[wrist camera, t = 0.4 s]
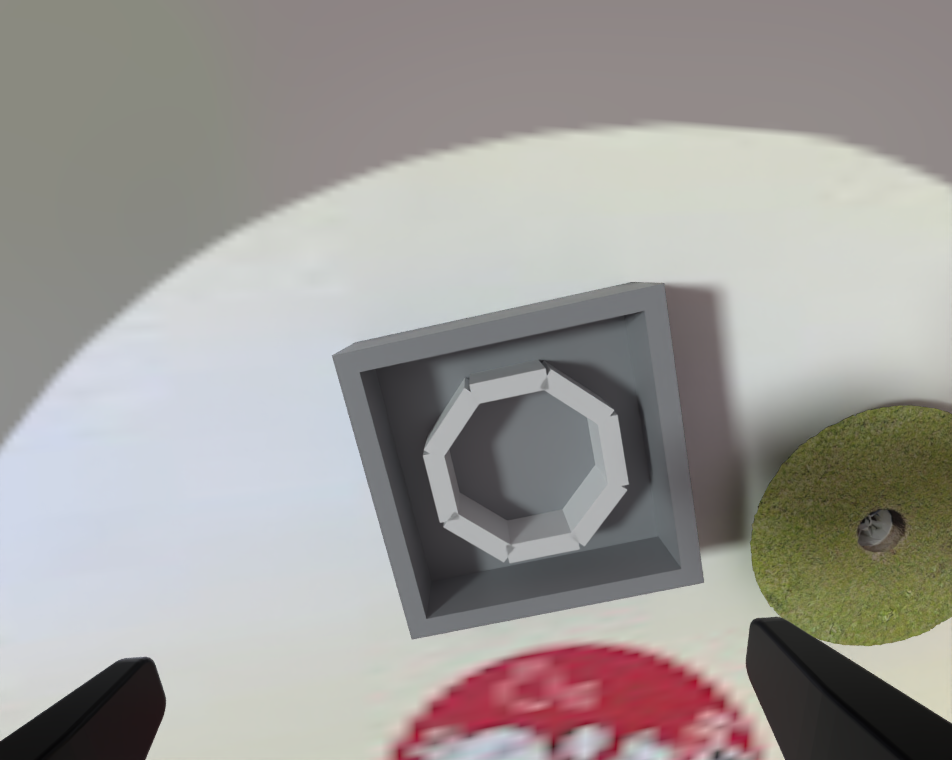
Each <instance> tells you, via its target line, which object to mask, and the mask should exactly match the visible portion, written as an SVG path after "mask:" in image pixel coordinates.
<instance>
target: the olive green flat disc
mask: <svg viewBox="0 0 952 760" xmlns="http://www.w3.org/2000/svg"><path fill="white" fill-rule="evenodd" d="M752 528H753V530H752V537H751V538H752V540H751V542H750V545H751V553H752V566H753V571H754V572H755V578H756V581H757V583H758V585H759V588H760V589H761V592H762V593H763V595H764V597H765V598H766V600H767V601H768V603H769V605H770V607H773V608H774V610H775V611H776V612H777V614H778V615H780V616H781V617H782V618H784V619H786V620H787V621H789V622H791V623H792V624H794V625H796V626H797V627H799V628H800V629H802V630H803V631H805V632H807V633H808V634H810V635H811V636H813V637H815V638H818V639H820V640H823V641H827V642H831V643H834V644H836V643H837V644H842V645H857V646H859V645H863V646H872V645H882V644H885V643H893V642H897V641H902V640H905V639H908V638H910V637H912V636H918V635H921V634H922V633H924V632H927V631H930V629H933V628H934V627H935V626H936V625H938V624H940V623H941V622H944V621H946V620H947V619H949V618H950V617H952V414H951V413H949V412H946V411H942V410H939V409H935V408H927V407H921V406H910V405H908V406H901V405H900V406H892V407H881V408H879V409H873V410H867V411H865V412H862V413H859V414H857V415H856V416H854V415H852V416H851V417H849V418H846V419H844V420H842V421H841V422H839V423H837V424H834V425H832V426H829V427H827V428H825V429H824V430H822V431H821V432H820V433H819V434H818V435H816V436H815V437H812V438H810V439H809V440H807V442H806V443H804V444H802V445H800V446H799V448H798V450H796V451H795V452H794V453H793V454H792V455H791V456H790V457H789V458H788V460H786V461H785V462H784V463H783V464H782V465H781V467H780V469H779V471H778V472H777V474H776V476H775V477H774V478H773V479H772V481H771V482H770V484H769V485H768V487H767V489H766V491H765V493H764V495H763V497H762V499H761V501H760V503H759V506H758V511H757V514H755V516H754V523H753V524H752Z"/></svg>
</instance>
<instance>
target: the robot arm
mask: <svg viewBox="0 0 952 760" xmlns="http://www.w3.org/2000/svg"><path fill="white" fill-rule="evenodd" d="M746 669H747V673H748V676H749V679H750V682H751V684H752V686H753V688H754V691H755V693H756V695H757V697H758V700H759V702H760V704H761V706H762V709H763V711H764V713H765V715H766V718H767V720H768V722H769V724H770V727H771V729H772V731H773V733H774V736H775V738H776V740H777V742H778V745H779V747H780V749H781V751H782V754H783V756H784V758H785V760H952V723H950V722H949V721H947V720H945V719H944V718H942V717H941V716H939V715H937V714H936V713H934V712H933V711H931V710H929V709H928V708H926V707H925V706H923V705H922V704H920V703H918V702H917V701H915V700H914V699H912V698H910V697H909V696H907V695H906V694H904V693H902V692H901V691H899V690H898V689H896V688H894V687H893V686H891V685H890V684H888V683H886V682H885V681H883V680H882V679H880V678H878V677H877V676H875V675H874V674H872V673H870V672H869V671H867V670H866V669H864V668H863V667H861V666H859V665H858V664H856V663H855V662H853V661H851V660H850V659H848V658H847V657H845V656H843V655H842V654H840V653H839V652H837V651H835V650H834V649H832V648H831V647H829V646H827V645H826V644H824V643H823V642H821V641H819V640H818V639H816V638H815V637H813V636H811V635H810V634H808V633H807V632H805V631H803V630H802V629H800V628H799V627H797V626H796V625H794V624H792V623H791V622H789V621H787V620H786V619H784V618H780V617H768V618H756V619H754V620H753V621H752V622H751V624H750V629H749V638H748V646H747V654H746ZM165 707H166V697H165V693H164V690H163V687H162V684H161V681H160V678H159V675H158V671H157V668H156V665H155V663H154V661H153V660H152V659H151V658H149V657H136V658H125V659H121V660H118V661H117V662H115V663H114V664H112V665H111V666H109V667H108V668H106V669H105V670H103V671H102V672H100V673H99V674H98V675H96V676H95V677H93V678H92V679H90V680H89V681H87V682H86V683H84V684H83V685H82V686H80V687H79V688H77V689H76V690H74V691H73V692H71V693H70V694H68V695H67V696H66V697H64V698H63V699H61V700H60V701H58V702H57V703H55V704H54V705H52V706H51V707H50V708H48V709H47V710H45V711H44V712H42V713H41V714H39V715H38V716H36V717H35V718H34V719H32V720H31V721H29V722H28V723H26V724H25V725H23V726H22V727H20V728H19V729H18V730H16V731H15V732H13V733H12V734H10V735H9V736H7V737H6V738H4V739H3V740H2V741H0V760H145V759H146V757H147V755H148V752H149V750H150V747H151V745H152V743H153V740H154V738H155V735H156V733H157V731H158V728H159V726H160V723H161V721H162V719H163V716H164V712H165Z"/></svg>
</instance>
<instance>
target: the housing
mask: <svg viewBox="0 0 952 760" xmlns="http://www.w3.org/2000/svg"><path fill="white" fill-rule="evenodd" d="M332 357H333V361H334V364H335V368H336V371H337V375H338V379H339V382H340V386H341V389H342V393H343V396H344V400H345V403H346V407H347V411H348V414H349V418H350V421H351V425H352V428H353V432H354V435H355V439H356V443H357V446H358V450H359V453H360V457H361V460H362V464H363V467H364V471H365V475H366V478H367V482H368V485H369V489H370V492H371V496H372V500H373V503H374V507H375V510H376V514H377V517H378V521H379V524H380V528H381V532H382V535H383V539H384V542H385V546H386V549H387V553H388V556H389V560H390V564H391V567H392V571H393V574H394V578H395V581H396V585H397V588H398V592H399V596H400V599H401V603H402V606H403V610H404V613H405V617H406V620H407V624H408V628H409V631H410V635H411V638H412V639H417V638H422V637H427V636H432V635H437V634H442V633H448V632H453V631H458V630H463V629H468V628H473V627H479V626H484V625H489V624H494V623H499V622H504V621H509V620H515V619H520V618H525V617H530V616H535V615H540V614H545V613H551V612H556V611H561V610H566V609H571V608H576V607H581V606H587V605H592V604H597V603H602V602H607V601H612V600H618V599H623V598H628V597H633V596H638V595H643V594H648V593H654V592H659V591H664V590H669V589H674V588H679V587H684V586H690V585H695V584H700V583H704V578H703V571H702V563H701V556H700V548H699V541H698V533H697V526H696V518H695V511H694V503H693V496H692V488H691V481H690V473H689V466H688V458H687V451H686V443H685V436H684V429H683V421H682V414H681V406H680V399H679V391H678V384H677V376H676V369H675V361H674V354H673V346H672V339H671V331H670V324H669V316H668V309H667V301H666V294H665V286H664V283H642V282H630V283H626V284H621V285H617V286H612V287H608V288H603V289H598V290H594V291H589V292H585V293H580V294H575V295H571V296H566V297H562V298H557V299H553V300H548V301H543V302H539V303H534V304H530V305H525V306H521V307H516V308H511V309H507V310H502V311H498V312H493V313H488V314H484V315H479V316H475V317H470V318H466V319H461V320H456V321H452V322H447V323H443V324H438V325H433V326H429V327H424V328H420V329H415V330H411V331H406V332H401V333H397V334H392V335H388V336H383V337H378V338H374V339H369V340H365V341H360V342H356V343H353V344H352V345H350V346H348V347H346V348H345V349H343V350H341V351H339V352H337V353H336V354H334V355H332Z"/></svg>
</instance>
